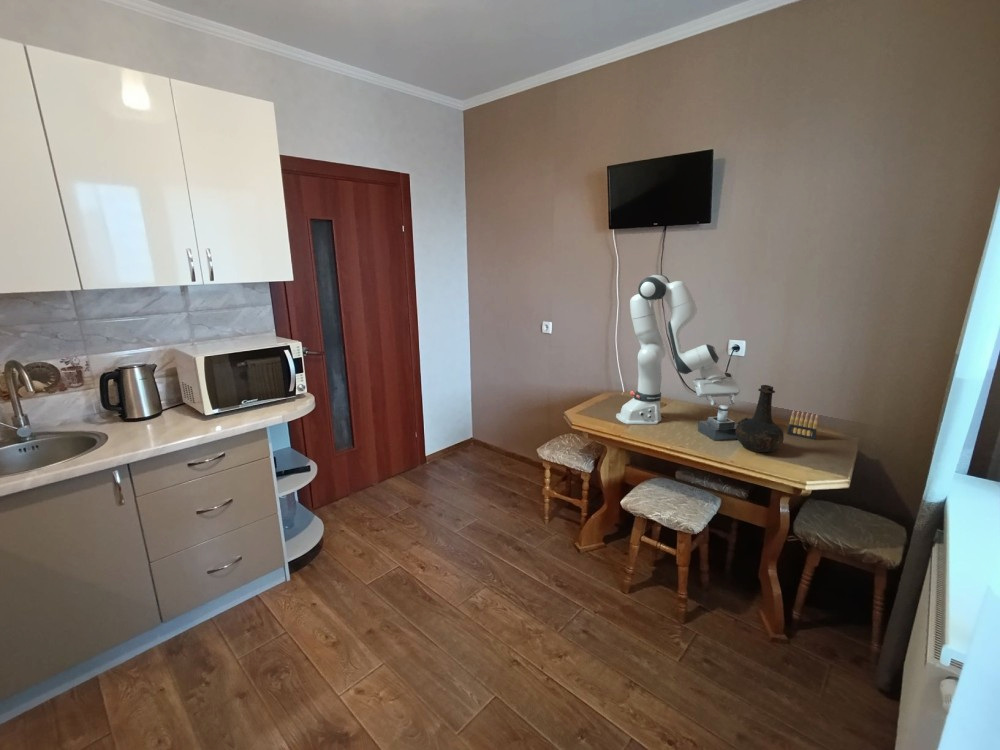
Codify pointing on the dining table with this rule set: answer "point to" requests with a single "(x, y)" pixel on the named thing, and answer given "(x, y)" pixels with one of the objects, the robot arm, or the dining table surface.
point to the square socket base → (718, 429)
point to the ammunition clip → (803, 425)
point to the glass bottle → (760, 426)
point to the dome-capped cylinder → (722, 413)
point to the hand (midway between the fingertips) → (723, 404)
